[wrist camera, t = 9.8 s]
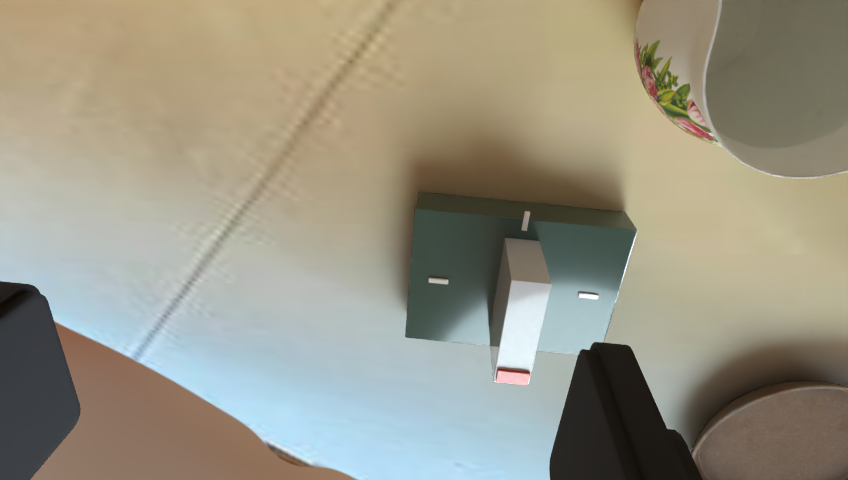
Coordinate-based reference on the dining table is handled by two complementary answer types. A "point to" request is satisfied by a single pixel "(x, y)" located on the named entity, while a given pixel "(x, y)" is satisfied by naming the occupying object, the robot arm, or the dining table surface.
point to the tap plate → (481, 257)
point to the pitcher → (752, 78)
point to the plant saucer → (778, 435)
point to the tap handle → (518, 310)
